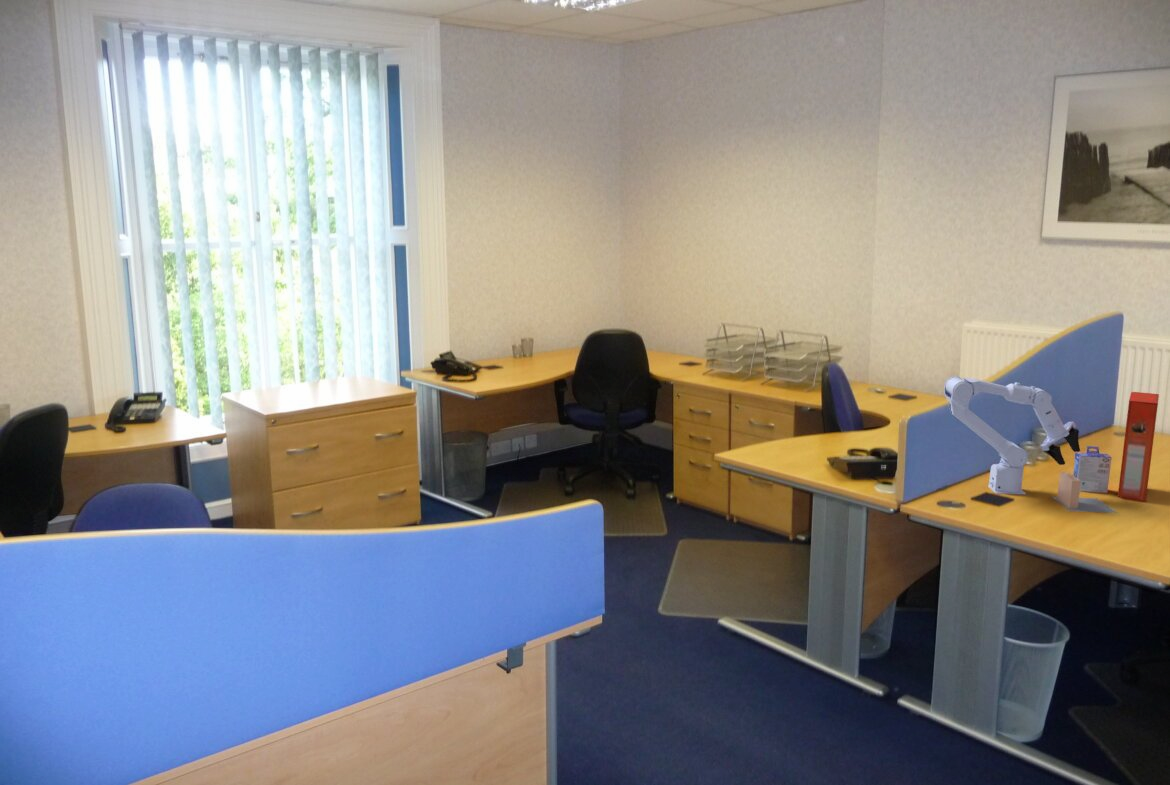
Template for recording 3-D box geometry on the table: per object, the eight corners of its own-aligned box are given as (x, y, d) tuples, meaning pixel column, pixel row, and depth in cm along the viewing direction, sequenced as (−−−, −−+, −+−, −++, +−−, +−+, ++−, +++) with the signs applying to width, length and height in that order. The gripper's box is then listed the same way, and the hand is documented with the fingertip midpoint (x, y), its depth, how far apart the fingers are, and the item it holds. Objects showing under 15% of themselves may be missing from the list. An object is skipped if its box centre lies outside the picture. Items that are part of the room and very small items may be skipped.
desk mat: (1069, 512, 283) (1070, 511, 283) (1051, 497, 297) (1051, 496, 297) (1117, 513, 282) (1117, 512, 282) (1096, 499, 296) (1096, 498, 296)
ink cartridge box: (1102, 488, 307) (1108, 446, 304) (1108, 493, 302) (1113, 450, 299) (1070, 486, 309) (1075, 444, 306) (1075, 491, 304) (1080, 448, 301)
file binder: (1116, 497, 298) (1129, 400, 291) (1119, 484, 312) (1131, 391, 306) (1145, 502, 293) (1159, 403, 287) (1147, 488, 308) (1160, 394, 301)
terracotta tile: (1069, 508, 286) (1072, 480, 284) (1057, 499, 294) (1060, 472, 293) (1077, 508, 285) (1081, 480, 284) (1065, 499, 294) (1068, 472, 292)
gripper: (1046, 434, 292) (1065, 470, 294) (1075, 409, 297) (1094, 445, 298) (1028, 434, 299) (1047, 469, 301) (1057, 410, 303) (1075, 445, 305)
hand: (1069, 457), depth 300 cm, fingers open, 7 cm apart
